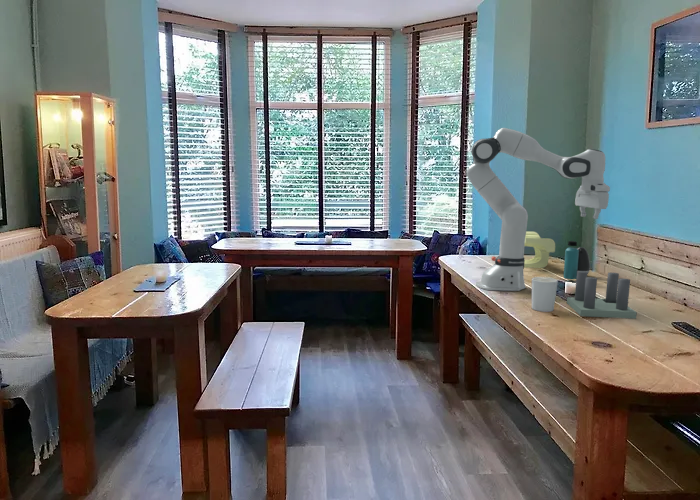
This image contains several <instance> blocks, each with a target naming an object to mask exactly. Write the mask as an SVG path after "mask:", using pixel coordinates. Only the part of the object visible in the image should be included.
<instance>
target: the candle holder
mask: <svg viewBox="0 0 700 500" xmlns="http://www.w3.org/2000/svg"><path fill="white" fill-rule="evenodd" d="M558 281H559V280H558V279H556V278H553V277H545V276H544V277H543V276H535V277H532V278H531V309H532V310H533V311H537V312H541V313H542V312H543V313H546V312H547V313H550V312H553V311H554V310H555V309H554V308H555V303H556V297H557V288H558Z"/></svg>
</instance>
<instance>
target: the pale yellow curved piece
mask: <svg viewBox="0 0 700 500" xmlns="http://www.w3.org/2000/svg"><path fill="white" fill-rule="evenodd" d="M524 247H531V248H533V249H534V253H535V254H534V257H533V258H529V259H525V261H524V269H527V268H528V269H529V268H530V269H532V268H534V269H536V268H537V269H543V268H546V267H547V266H548V264H549V259H550V253H556V242H555V241H554V239H552V238H550V237H549V238H546V237H545V238H544V237H541V236H540V235H539V233H538V232H537V231H526V236H525V245H524Z"/></svg>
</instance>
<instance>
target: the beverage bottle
mask: <svg viewBox="0 0 700 500" xmlns="http://www.w3.org/2000/svg"><path fill="white" fill-rule="evenodd" d="M567 243H568V244H567V246H570V247H567V248H566V249H565V250H564V251H565V252H564V263H563V274H562V275H563V278H564V279H566V280H576V277H577V270H578V254H579V250H578V249H577V248H578V247H577V246H578V241H575V240H568V241H567Z"/></svg>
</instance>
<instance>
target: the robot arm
mask: <svg viewBox="0 0 700 500" xmlns="http://www.w3.org/2000/svg"><path fill="white" fill-rule="evenodd" d="M500 153H502V154H506V155H508V156H510V157H514V158H515V159H519V160H524V161H530V162H537V163H539V164H541V165H544V166H546V167H549V168H551V169H554V170H555V171H556V172H557V174H559V175H560V176H561V177H562V178H564V179H569V180H572V179H577V178H580V177H581V185H580V186H579V187H578V190H577V191H576V193H575V201H574V204H575V206H576V207H577V206H578V207H579V211H580V217H583V218H586V216H587V212H586V208H591V209H594V214H592V219H594V220H598V219H599V216H600V213H601V211H602V210H606V209H607V208H608V207H609V200H610V199H609V198H610V194H609V192H610V190H611V186H609V185H607V184H606V183H605V182H604V180H605V178H604V174H605V170H606V155H605V153H604V152H603V151H602V150H599V149H595V148H594V149H592V148H587V149H586V150H585V151H583V152H580V153H578V154H576V155H573V156H561V155H559V154H556V153H554V152H552V151H549V150H547V149H545V148H544V147H542V145H540V143H539V142H538V140H537V139H535V138H534V137H532V136H530V135H529V134H526V133H524V132H521V131H518V130H515V129H513V128H512V129H511V128H507V127H501V128H500V129H498V130H497V131H496V132H495V133H494V135H493V137H490V138H489V137H488V138H479V139H478V140H476V141H474V143H473V145H472V146H471V156H472V159H473V161H472V164H471V165H469V166H468V168H467V171H466V176H467V178H468V180H469V182H470V183H471V185H472V186H473V188H474V189H475V190H476V192H477V193H478V194H479V195H480V196H481V198H482V199H483V200H484V201H485V202H486V203H487V205H488V206H489V207H490V208H491V209H492V210H493V212H495V214H496V215H497V216H498V218H499V219H500V220H501V229H500V239H499V253H498V256H491V261H492V262H494V264H493V265H492V266H490V267H488V268H487V269H486V270H484V271H483V272H482V274H481V278H480V281H477V282H476V283H475V286H476V287H478V288H480V289H482V290H486V291H504V292H505V291H509V292H511V291H513V292H517V291H518V292H520V291H521V290H525V289H526V284H525V277H524V276H525V275H524V269H525V268H524V261H525V260H526V259H525V246H524V245H525V236H526V232H527V230H528V228H527V227H528V220H529V214H528V211H527V210H526V208H525V207H524V206H522V205H521V203H520V202H519V201H518V199H517V198H516V197H515V196H514V195H513V194H512V193H511V192H510V190H509V189H508V187H507V186H506V185H505V184H504V183H503V181H502V180H501V179H500V178H499V176H498V175H496V173H495V172H494V171H493V170H492V168H491V165H490V163H491V162H492V161H493V160H494V159H495V158H496V157H497V155H498V154H500Z"/></svg>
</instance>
